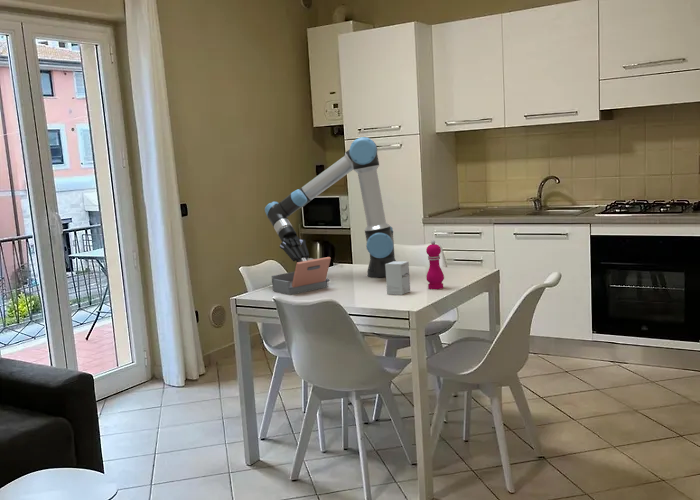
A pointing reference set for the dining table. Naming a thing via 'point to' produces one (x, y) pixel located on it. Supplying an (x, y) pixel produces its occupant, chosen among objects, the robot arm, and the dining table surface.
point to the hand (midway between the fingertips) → (308, 271)
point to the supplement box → (397, 277)
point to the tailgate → (311, 271)
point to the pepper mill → (434, 267)
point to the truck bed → (284, 284)
